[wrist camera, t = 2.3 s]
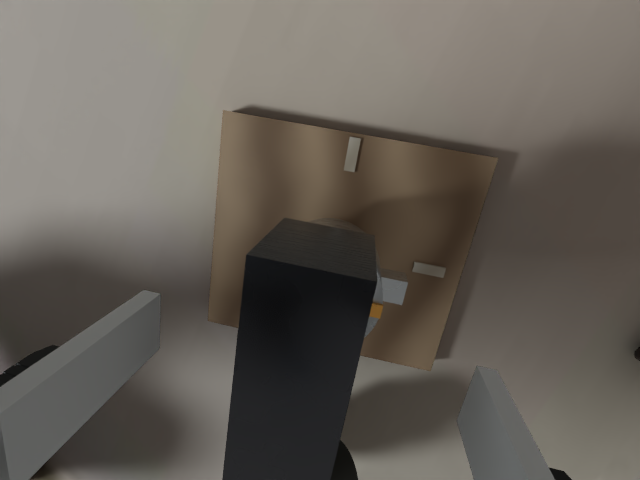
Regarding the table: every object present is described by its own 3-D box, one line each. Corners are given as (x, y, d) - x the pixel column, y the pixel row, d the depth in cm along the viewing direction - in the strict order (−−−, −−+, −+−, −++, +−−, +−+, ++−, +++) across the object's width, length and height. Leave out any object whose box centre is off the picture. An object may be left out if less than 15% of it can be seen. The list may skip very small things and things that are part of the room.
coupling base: (214, 312, 32) (188, 343, 28) (230, 111, 27) (201, 106, 22) (427, 360, 31) (438, 401, 26) (491, 156, 25) (519, 161, 21)
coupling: (250, 314, 26) (146, 471, 14) (266, 182, 23) (149, 234, 11) (386, 344, 25) (402, 539, 13) (421, 211, 22) (485, 304, 10)
